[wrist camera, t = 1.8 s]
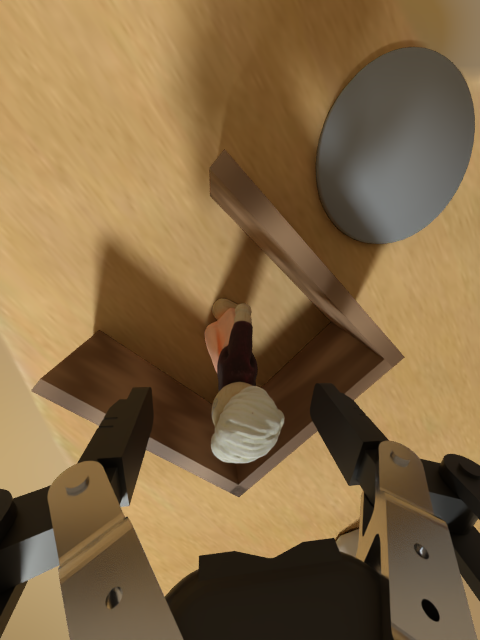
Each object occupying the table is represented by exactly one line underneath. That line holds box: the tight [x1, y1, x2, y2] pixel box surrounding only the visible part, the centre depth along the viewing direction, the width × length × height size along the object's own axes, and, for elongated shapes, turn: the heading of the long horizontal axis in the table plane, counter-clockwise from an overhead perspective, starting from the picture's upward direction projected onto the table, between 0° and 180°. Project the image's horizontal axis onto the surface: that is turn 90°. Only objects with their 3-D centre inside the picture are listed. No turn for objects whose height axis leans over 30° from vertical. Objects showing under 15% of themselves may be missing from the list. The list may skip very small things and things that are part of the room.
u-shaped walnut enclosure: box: [31, 149, 404, 497], centre depth 17 cm, size 16×16×7 cm
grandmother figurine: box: [205, 299, 284, 463], centre depth 14 cm, size 8×4×13 cm, turn 4°
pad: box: [316, 47, 475, 244], centre depth 17 cm, size 12×12×1 cm
